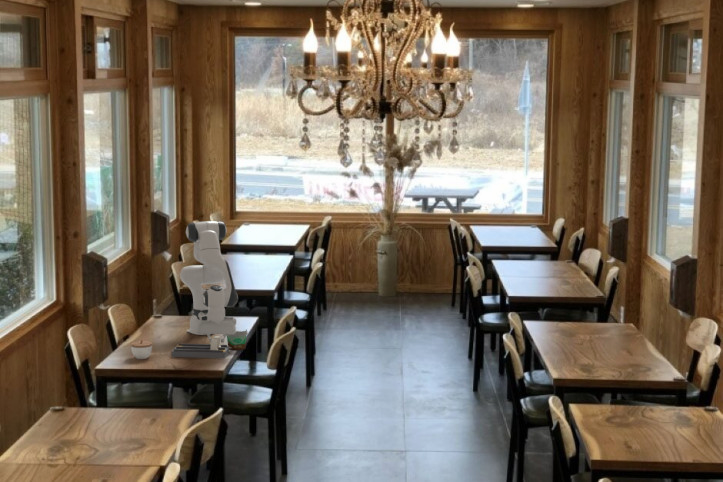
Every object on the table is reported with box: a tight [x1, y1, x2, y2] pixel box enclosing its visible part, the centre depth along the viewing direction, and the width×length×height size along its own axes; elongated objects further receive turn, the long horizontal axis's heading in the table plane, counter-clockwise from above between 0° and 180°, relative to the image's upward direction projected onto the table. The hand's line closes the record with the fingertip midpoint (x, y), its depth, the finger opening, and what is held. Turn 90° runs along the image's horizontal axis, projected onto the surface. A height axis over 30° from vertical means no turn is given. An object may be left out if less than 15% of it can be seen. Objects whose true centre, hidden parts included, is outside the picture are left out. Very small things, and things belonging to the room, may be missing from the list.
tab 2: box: [213, 335, 221, 347], centre depth 566 cm, size 3×4×6 cm
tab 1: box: [210, 339, 218, 350], centre depth 559 cm, size 3×4×6 cm
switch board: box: [171, 343, 230, 359], centre depth 564 cm, size 13×28×4 cm, turn 87°
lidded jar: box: [130, 339, 153, 360], centre depth 555 cm, size 11×11×9 cm
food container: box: [226, 328, 249, 352], centre depth 575 cm, size 12×6×10 cm, turn 117°
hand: (216, 342), depth 566 cm, fingers open, 5 cm apart
